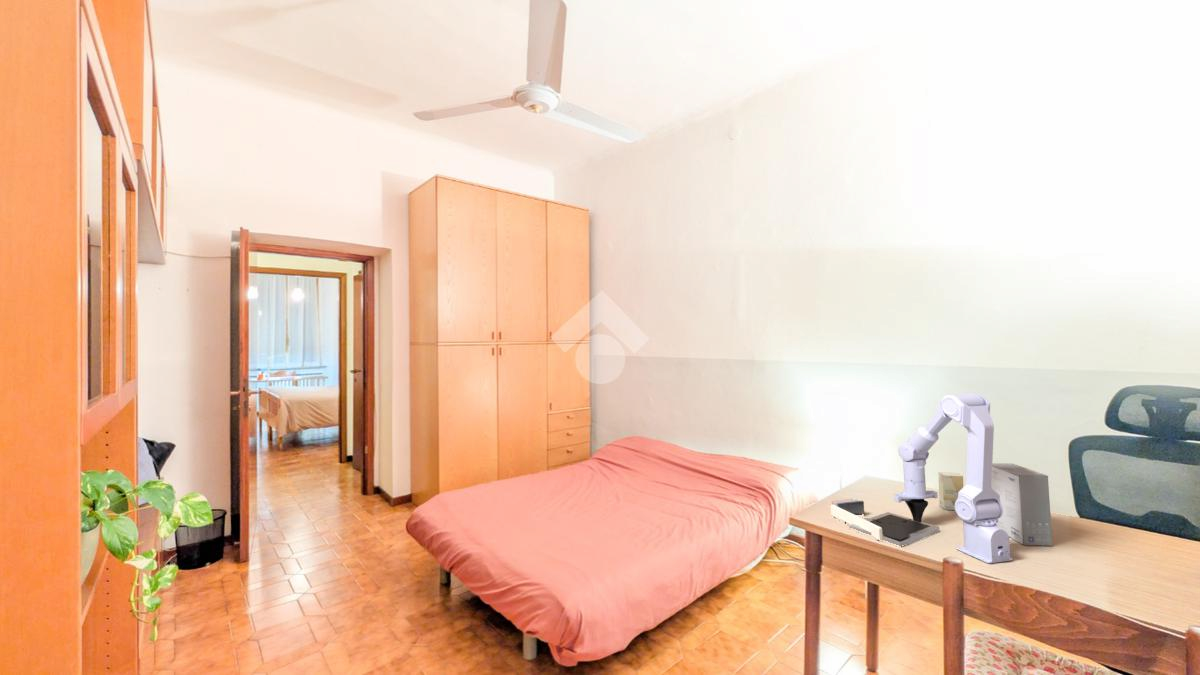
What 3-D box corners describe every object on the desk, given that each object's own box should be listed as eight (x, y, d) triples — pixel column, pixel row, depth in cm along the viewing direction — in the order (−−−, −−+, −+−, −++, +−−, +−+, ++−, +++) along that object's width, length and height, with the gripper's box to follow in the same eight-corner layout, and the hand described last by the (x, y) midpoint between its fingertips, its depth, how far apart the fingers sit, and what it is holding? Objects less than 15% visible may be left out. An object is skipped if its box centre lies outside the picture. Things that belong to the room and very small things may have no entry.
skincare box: (944, 510, 163) (941, 474, 163) (939, 505, 167) (937, 471, 167) (965, 511, 161) (963, 475, 161) (960, 507, 165) (958, 472, 166)
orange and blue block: (860, 515, 161) (859, 500, 161) (837, 518, 160) (837, 503, 160) (852, 511, 165) (852, 497, 165) (831, 514, 163) (830, 500, 163)
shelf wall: (882, 541, 140) (881, 527, 140) (879, 541, 140) (879, 528, 140) (833, 516, 162) (833, 504, 162) (831, 516, 161) (830, 504, 161)
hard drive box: (1054, 547, 132) (1049, 476, 132) (1022, 545, 133) (1018, 475, 134) (1017, 526, 147) (1013, 462, 148) (989, 525, 149) (985, 462, 149)
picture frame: (900, 549, 135) (939, 533, 145) (900, 539, 135) (939, 524, 145) (849, 531, 149) (888, 518, 159) (849, 522, 149) (887, 509, 159)
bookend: (869, 518, 158) (868, 503, 158) (843, 521, 156) (843, 506, 157) (862, 515, 161) (861, 500, 161) (837, 518, 160) (836, 503, 160)
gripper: (923, 474, 156) (925, 515, 155) (885, 478, 153) (887, 520, 153) (942, 480, 149) (944, 523, 149) (902, 484, 146) (905, 528, 146)
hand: (917, 522), depth 150 cm, fingers closed, pressing on picture frame
